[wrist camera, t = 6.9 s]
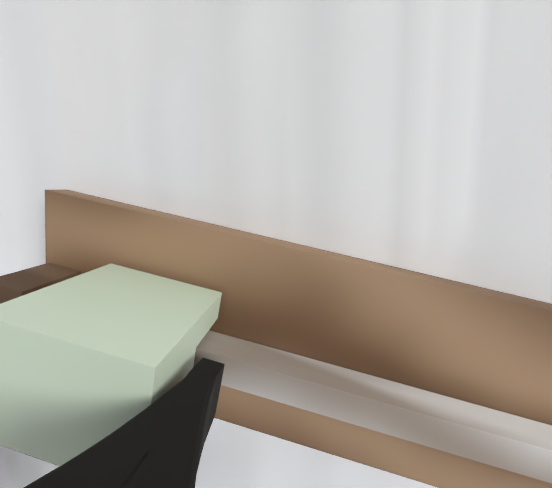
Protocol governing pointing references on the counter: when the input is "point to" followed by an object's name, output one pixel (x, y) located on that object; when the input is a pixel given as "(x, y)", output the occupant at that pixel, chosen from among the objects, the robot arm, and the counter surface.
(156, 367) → the sleeve
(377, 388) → the rod board
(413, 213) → the counter surface
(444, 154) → the counter surface
